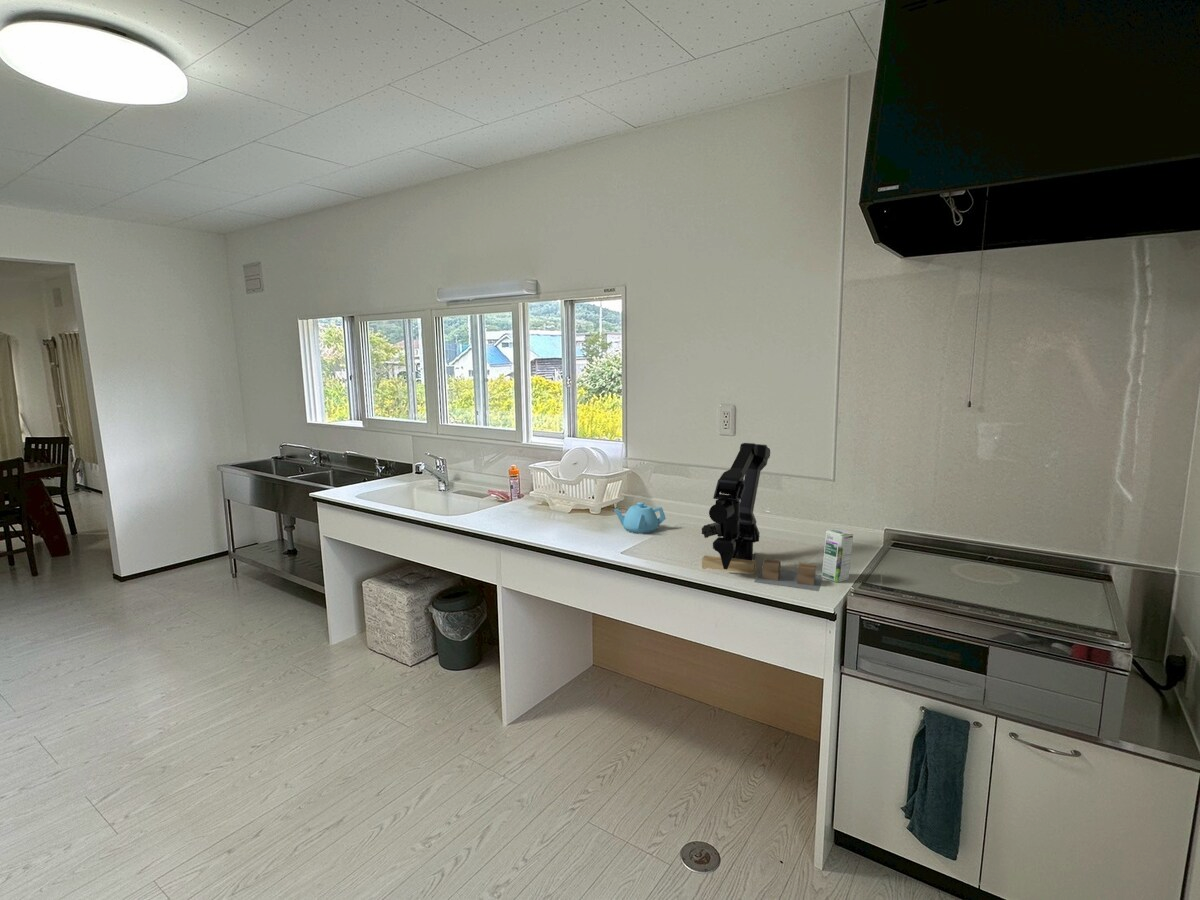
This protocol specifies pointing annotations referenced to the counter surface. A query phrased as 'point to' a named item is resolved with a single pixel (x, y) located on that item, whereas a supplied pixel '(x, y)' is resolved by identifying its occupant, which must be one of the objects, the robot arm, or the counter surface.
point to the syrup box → (837, 555)
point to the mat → (790, 580)
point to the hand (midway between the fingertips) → (728, 564)
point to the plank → (734, 565)
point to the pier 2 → (806, 574)
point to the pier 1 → (771, 569)
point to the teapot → (641, 518)
